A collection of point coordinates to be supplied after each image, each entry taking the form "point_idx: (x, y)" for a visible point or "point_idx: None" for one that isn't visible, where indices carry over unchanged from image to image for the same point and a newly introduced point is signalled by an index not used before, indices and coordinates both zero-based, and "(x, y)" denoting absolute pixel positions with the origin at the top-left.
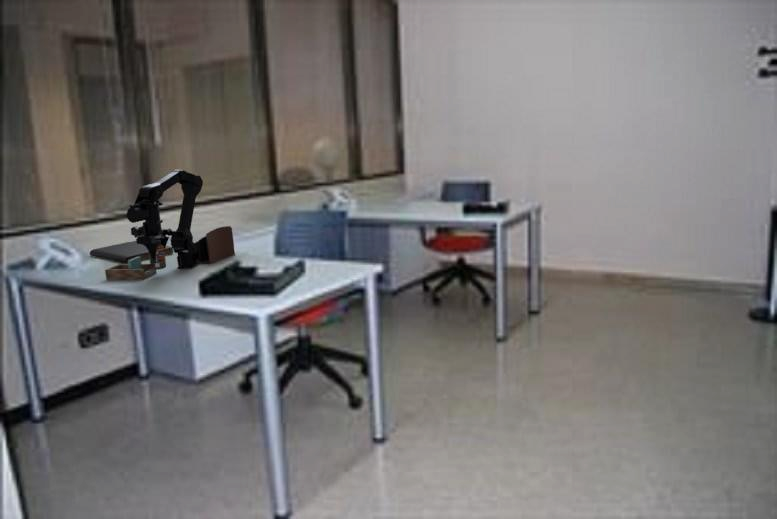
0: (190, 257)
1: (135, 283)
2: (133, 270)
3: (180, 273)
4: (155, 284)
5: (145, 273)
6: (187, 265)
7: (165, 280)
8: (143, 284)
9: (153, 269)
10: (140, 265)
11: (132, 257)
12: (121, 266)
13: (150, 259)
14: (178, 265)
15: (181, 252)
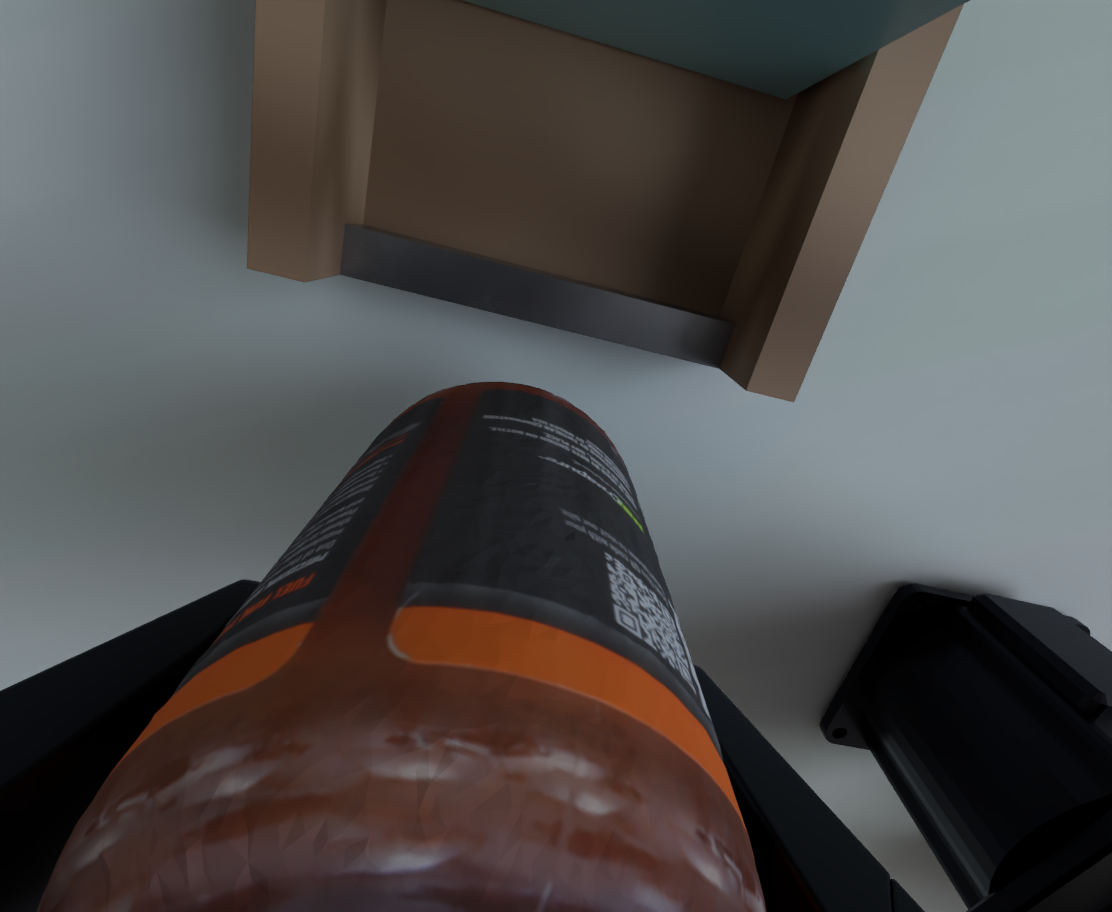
0: (942, 848)
1: (66, 178)
2: (262, 9)
3: None
4: (29, 506)
5: (380, 281)
6: (874, 714)
7: (244, 576)
8: (13, 338)
9: (672, 354)
10: (797, 50)
11: None
12: None
13: (327, 501)
14: (975, 604)
15: (1080, 848)
